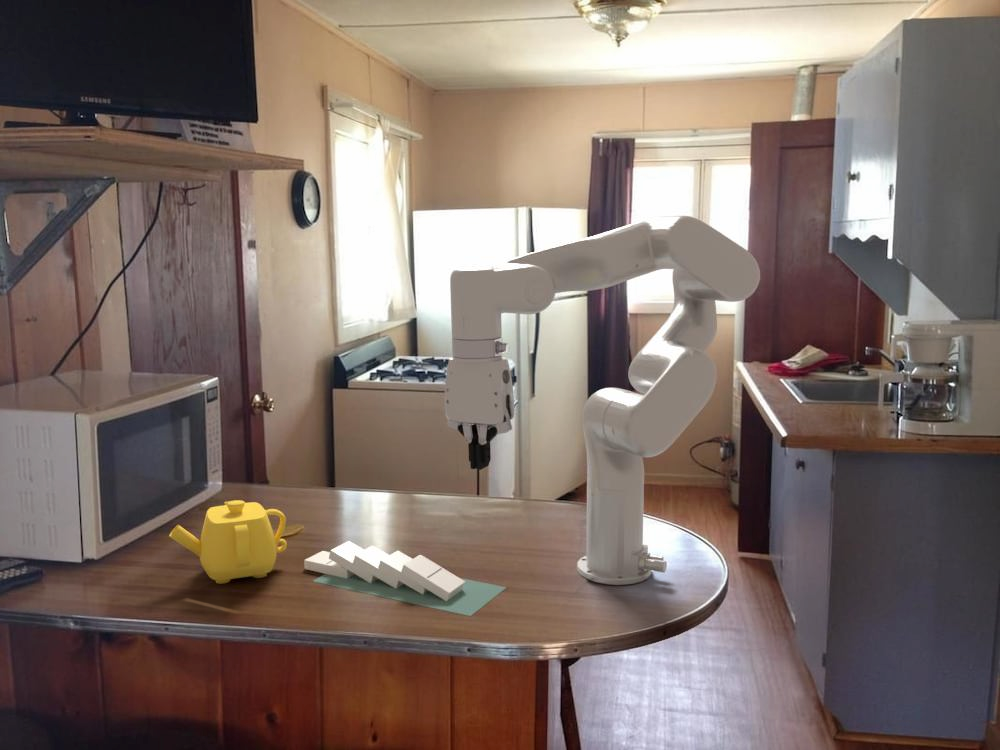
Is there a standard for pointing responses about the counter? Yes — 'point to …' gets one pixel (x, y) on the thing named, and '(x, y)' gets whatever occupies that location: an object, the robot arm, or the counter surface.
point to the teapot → (235, 541)
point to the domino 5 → (433, 577)
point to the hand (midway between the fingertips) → (479, 467)
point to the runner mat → (461, 603)
